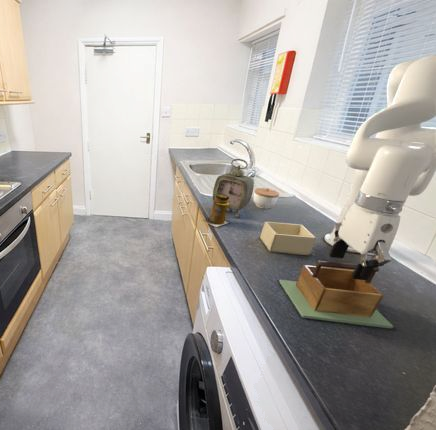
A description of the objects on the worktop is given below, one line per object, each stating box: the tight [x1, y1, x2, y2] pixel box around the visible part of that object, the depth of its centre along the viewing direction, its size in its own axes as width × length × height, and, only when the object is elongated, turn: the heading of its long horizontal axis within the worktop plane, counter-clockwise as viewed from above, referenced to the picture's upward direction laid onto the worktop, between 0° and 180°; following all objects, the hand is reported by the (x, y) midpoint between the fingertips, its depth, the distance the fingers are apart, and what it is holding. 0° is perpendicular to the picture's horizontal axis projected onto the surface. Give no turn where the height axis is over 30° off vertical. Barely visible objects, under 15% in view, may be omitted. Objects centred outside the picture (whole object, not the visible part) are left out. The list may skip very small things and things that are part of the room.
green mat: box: [278, 279, 394, 329], centre depth 70 cm, size 20×14×1 cm
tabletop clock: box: [212, 158, 255, 218], centre depth 118 cm, size 14×9×25 cm, turn 44°
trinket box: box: [252, 187, 280, 210], centre depth 129 cm, size 11×11×9 cm
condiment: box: [202, 194, 229, 228], centre depth 111 cm, size 7×8×12 cm
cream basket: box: [259, 221, 317, 256], centre depth 95 cm, size 13×10×7 cm
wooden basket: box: [296, 260, 385, 318], centre depth 68 cm, size 13×10×12 cm
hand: (346, 267), depth 66 cm, fingers open, 8 cm apart
